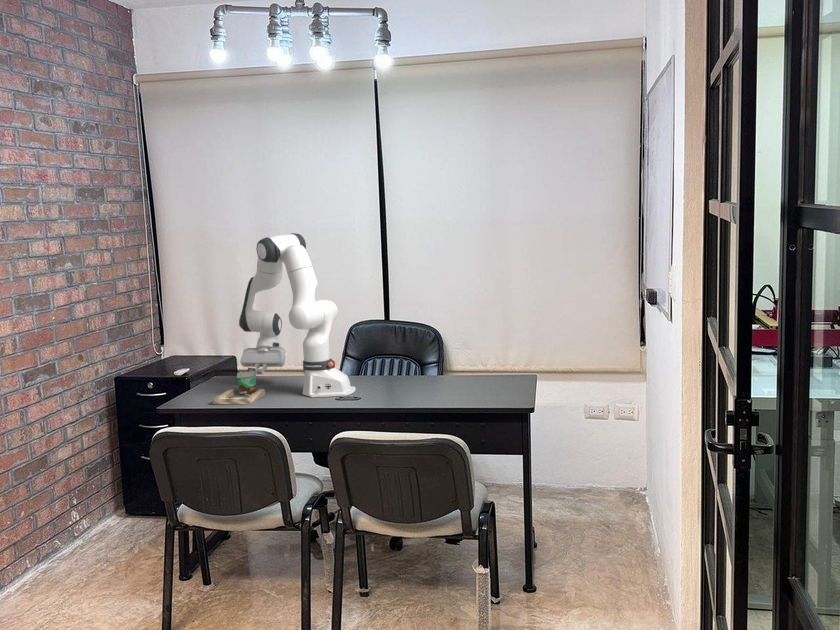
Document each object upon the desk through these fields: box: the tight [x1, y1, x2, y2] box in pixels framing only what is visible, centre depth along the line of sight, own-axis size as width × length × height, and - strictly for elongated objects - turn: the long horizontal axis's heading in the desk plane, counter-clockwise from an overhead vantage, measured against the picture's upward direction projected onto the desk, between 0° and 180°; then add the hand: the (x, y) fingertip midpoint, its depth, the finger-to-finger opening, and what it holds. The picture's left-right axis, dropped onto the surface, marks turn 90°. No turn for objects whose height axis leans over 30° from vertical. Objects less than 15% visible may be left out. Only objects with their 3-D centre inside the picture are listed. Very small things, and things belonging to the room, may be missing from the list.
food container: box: [236, 367, 258, 396], centre depth 352 cm, size 12×6×10 cm, turn 168°
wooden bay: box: [211, 388, 266, 405], centre depth 340 cm, size 16×17×2 cm
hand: (259, 373), depth 363 cm, fingers closed
